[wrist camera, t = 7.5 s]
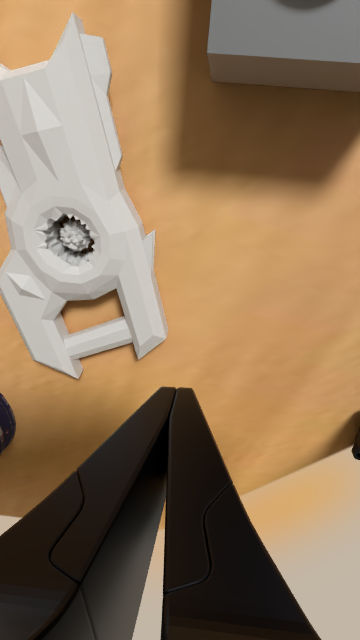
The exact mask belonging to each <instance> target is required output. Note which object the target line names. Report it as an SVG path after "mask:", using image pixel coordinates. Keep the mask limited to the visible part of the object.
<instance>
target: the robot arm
mask: <svg viewBox="0 0 360 640" xmlns="http://www.w3.org/2000/svg"><path fill="white" fill-rule="evenodd" d="M352 453H353V456H354V458H355V459H358V460H360V429H359V431H358V433H357V436H356V438H355V444H354V446H353V448H352ZM165 498H166V516H165V546H164V547H165V548H164V576H163V606H162V627H161V640H321V639H320V637H319V636H318V634H317V633H316V631H315V630H314V628H313V627H312V625H311V624H310V622H309V621H308V619H307V617H306V616H305V614H304V613H303V611H302V609H301V608H300V606H299V604H298V602H297V601H296V599H295V597H294V596H293V594H292V592H291V590H290V589H289V587H288V585H287V584H286V582H285V580H284V579H283V577H282V575H281V573H280V572H279V570H278V568H277V567H276V565H275V563H274V562H273V560H272V558H271V557H270V555H269V553H268V551H267V550H266V548H265V546H264V545H263V543H262V541H261V539H260V537H259V536H258V534H257V532H256V530H255V528H254V526H253V525H252V523H251V521H250V519H249V517H248V515H247V512H246V510H245V508H244V506H243V504H242V502H241V500H240V497H239V495H238V493H237V490H236V488H235V486H234V485H233V482H232V479H231V477H230V475H229V472H228V470H227V468H226V465H225V463H224V461H223V458H222V456H221V454H220V451H219V449H218V447H217V444H216V442H215V440H214V437H213V435H212V433H211V430H210V428H209V426H208V423H207V421H206V419H205V416H204V414H203V412H202V409H201V407H200V405H199V402H198V400H197V398H196V395H195V393H194V391H193V389H192V388H182V387H179V388H177V389H176V388H175V387H160V388H159V389H158V390H157V391H156V392H155V393H154V394H153V395H152V396H151V397H150V398H149V399H148V400H147V401H146V402H145V403H144V404H143V405H142V406H141V407H140V408H139V409H138V410H137V411H136V412H135V413H134V414H133V415H132V416H131V417H129V418H128V419H127V420H126V421H125V422H124V423H123V424H122V425H121V426H120V427H119V428H118V429H117V430H116V431H115V432H114V433H113V434H112V435H111V436H110V437H109V438H108V439H107V440H106V441H105V442H104V443H103V444H102V445H101V446H100V447H99V448H98V449H97V450H96V451H95V452H93V453H92V454H91V455H90V456H89V457H88V458H87V459H86V460H85V461H84V462H83V463H82V464H81V465H80V466H79V467H78V468H77V471H74V472H73V473H72V474H71V475H70V476H69V477H68V478H67V479H66V480H65V481H63V482H62V483H61V484H60V485H59V486H58V487H57V488H56V489H55V490H54V491H53V492H52V493H51V494H49V495H48V496H47V497H46V498H45V499H44V500H43V501H42V502H41V503H39V504H38V505H37V506H36V507H35V508H33V509H32V510H31V511H30V512H29V513H28V514H26V515H25V516H24V517H23V518H22V519H20V520H19V521H18V522H17V523H16V524H14V525H13V526H12V527H11V528H9V529H8V530H7V531H6V532H4V533H3V534H2V535H1V536H0V640H132V636H133V632H134V628H135V624H136V620H137V615H138V611H139V607H140V603H141V598H142V594H143V590H144V586H145V582H146V577H147V574H148V569H149V565H150V561H151V557H152V552H153V548H154V544H155V540H156V536H157V532H158V528H159V523H160V519H161V515H162V511H163V507H164V502H165Z"/></svg>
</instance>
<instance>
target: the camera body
mask: <svg viewBox="0 0 360 640" xmlns="http://www.w3.org/2000/svg"><path fill="white" fill-rule="evenodd" d="M207 56H208V62H209V68H210V74H211V80H212V81H214V82H228V83H241V84H255V85H269V86H282V87H296V88H310V89H324V90H337V91H351V92H360V0H212V3H211V14H210V25H209V36H208V47H207Z"/></svg>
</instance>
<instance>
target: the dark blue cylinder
mask: <svg viewBox="0 0 360 640" xmlns="http://www.w3.org/2000/svg"><path fill="white" fill-rule="evenodd" d="M15 429H16V423H15V417H14V414H13V411H12V409H11V407H10V405H9V404H8V402H7V401H6V399H5V398H4V396H3V395H2V394H1V393H0V455H1V454H2V451H4V450H5V448H6V447H7V446H8V445H9V444H10V442H11V441H12V439H13V437H14V434H15Z"/></svg>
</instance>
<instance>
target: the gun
mask: <svg viewBox="0 0 360 640" xmlns="http://www.w3.org/2000/svg"><path fill="white" fill-rule="evenodd" d="M111 77H112V70H111V66H110V62H109V58H108V53H107V49H106V45H105V41H104V39H103V38H102V37H97V36H92V35H86V34H85V30H84V26H83V22H82V19H80V18H79V17H78V16H77V15H76V14H74V13H73V12H72V14H71V16H70V18H69V21H68V23H67V25H66V27H65V29H64V31H63V33H62V36H61V38H60V40H59V42H58V44H57V46H56V48H55V51H54V53H53V55H52V57H51V59H50V60H47V61H43V62H40V63H36V64H33V65H29V66H26V67H22V68H18V69H15V70H10V69H9V68H7V67H5V66H4V65H2V64H0V140H1V143H2V145H3V146H2V145H0V189H1V192H2V195H3V198H4V200H5V203H6V206H7V210H6V212H5V218H6V223H7V228H8V234H9V239H10V245H11V251H10V252H9V254H8V256H7V258H6V260H5V261H4V263H3V265H2V267H1V268H0V294H1V296H2V298H3V300H4V302H5V304H6V306H7V308H8V310H9V312H10V314H11V316H12V318H13V320H14V322H15V324H16V326H17V328H18V330H19V332H20V335H21V337H22V339H23V341H24V343H25V345H26V347H27V349H28V351H29V353H30V355H31V357H32V359H33V360H34V361H37V362H39V363H41V364H44V365H46V366H48V367H51V368H53V369H56V370H58V371H60V372H63V373H65V374H67V375H70V376H72V377H74V378H77V379H79V377H80V375H81V373H82V371H83V367H82V364H81V362H80V359H79V358H81V357H85V356H88V355H91V354H95V353H98V352H102V351H105V350H108V349H112V348H115V347H119V346H122V345H125V344H129V343H132V342H133V344H134V347H135V351H136V354H137V357H138V360H139V359H140V358H141V357H143V356H144V355H145V354H147V353H148V352H149V351H151V350H152V349H153V348H155V347H156V346H157V345H159V344H160V343H161V342H162V341H164V340H165V339H166V337H167V333H168V326H167V322H166V318H165V314H164V310H163V305H162V301H161V297H160V293H159V289H158V285H157V281H156V277H155V272H154V253H155V230H153V231H152V232H150V233H149V234H148V235H145V231H144V227H143V223H142V220H141V218H140V216H139V215H138V213H137V211H136V209H135V207H134V205H133V203H132V201H131V199H130V197H129V195H128V193H127V192H126V190H125V187H124V183H123V179H122V176H121V172H120V164H121V161H122V157H123V155H122V151H121V147H120V143H119V139H118V134H117V130H116V126H115V122H114V118H113V114H112V110H111V106H110V102H109V98H108V94H109V88H110V83H111ZM65 215H67V216H68V217H69V218H71V217H72V216H74V217H75V220H78V219H80V221H81V222H79V221H72V222H71V221H70V220H69V221H68V222H67V223H64V224H63V225H64V228H62V227H61V226H60V225H59V222H60V221H63V220H64V219H65V218H64V216H65ZM60 234H61V235H60ZM91 238H92V239H93V240H94V242H95V244H94V245H93V246H91V247H92V248H93V252H91V251H89V250H87V251H86V252H85V253H81V250H82V249H85V248H88V244H89V243H90V242H91V240H90V239H91ZM114 289H117V292H118V295H119V298H120V302H121V305H122V308H123V312H124V315H125V316H122V317H119V318H117V319H114V320H111V321H108V322H105V323H102V324H99V325H96V326H93V327H90V328H87V329H84V330H81V331H78V332H75V333H72V334H70V335H69V332H68V330H67V327H66V325H65V323H64V320H63V318H62V315H61V313H60V312H61V310H62V309H63V307H64V306H65V304H66V303H67V301H70V300H93V299H96V298H98V297H100V296H102V295H104V294H106V293H108V292H110V291H112V290H114Z"/></svg>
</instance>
